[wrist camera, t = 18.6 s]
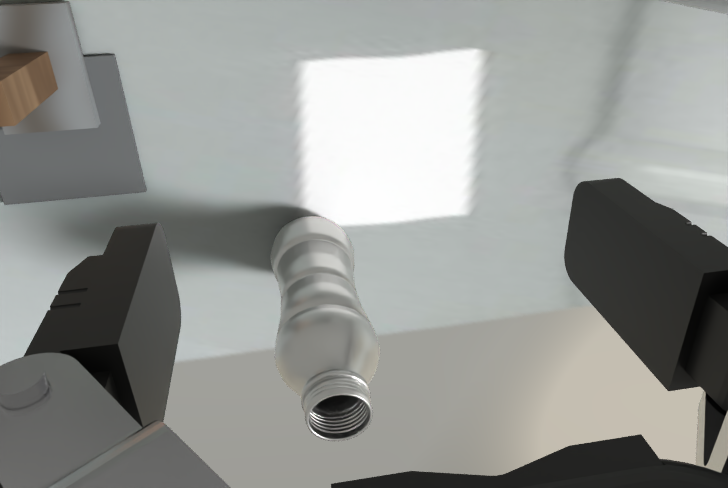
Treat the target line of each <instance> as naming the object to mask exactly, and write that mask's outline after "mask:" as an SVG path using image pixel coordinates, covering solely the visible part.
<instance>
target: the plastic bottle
mask: <svg viewBox="0 0 728 488" xmlns="http://www.w3.org/2000/svg"><path fill="white" fill-rule="evenodd" d="M271 264H272V268H273V271H274V274H275V277H276V279H277V281H278V284H279V289H280V294H281V317H280V323H279V328H278V333H277V339H276V345H275V362H276V366H277V368H278V370H279V373H280V375H281V377H282V379H283V381H284V382H285V383H286V384H287V386H288V387H289V388H290V389H292V390H293V391H294V392H296V393H297V394H298V395H299V396H301V402H302V408H303V410H304V412H305V420H306V424H307V426H308V428H309V430H310V431H311V432H312V433H313V434H314V435H315V436H317V437H319V438H321V439H324V440H328V441H343V440H348V439H351V438H354V437H356V436H358V435H359V434H361V433H362V432H364V431H365V430H366V429H367V428H368V426H369V425H370V423H371V421H372V417H373V410H372V405H371V401H370V398H371V397H370V391H369V387H368V384H369V382H370V381H371V379H372V378H373V376H374V374H375V372H376V370H377V366H378V360H379V354H380V348H379V347H380V346H379V342H378V338H377V336H376V333H375V330H374V328H373V327H372V325H371V323H370V321H369V319H368V317H367V315H366V313H365V312H364V310H363V308H362V306H361V303H360V300H359V298H358V295H357V292H356V289H355V283H354V274H353V272H354V249H353V246H352V243H351V241H350V240H349V238H348V236H347V235H346V233H345V232H344V231H343V230H342V228H341V227H340V226H339V225H337V224H336V223H334V222H333V221H331V220H329V219H326V218H323V217H317V216H307V217H301V218H298V219H295V220H293V221H291V222H289V223H288V224H286V225H285V226H284V227H283V228H282V229H281V230H280V231H279V232H278V234H277V236H276V238H275V241H274V244H273V247H272V250H271Z"/></svg>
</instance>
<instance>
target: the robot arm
mask: <svg viewBox="0 0 728 488" xmlns="http://www.w3.org/2000/svg"><path fill="white" fill-rule="evenodd" d="M660 1H665V2H670V3H675V4H680V5H684V6H688V7H693V8H698V9H703V10H708V11H714V12H719V13H724V14H728V0H660ZM564 259H565V266H566V270H567V273H568V276H569V278H570V279H571V281H572V282H573V283H574V284H575V286H576V287H577V288H578V289H579V290H580V291H581V292H582V294H583V295H584V296H585V297H586V298H587V299H588V300H589V301H590V303H591V304H592V305H593V306H594V307H595V308H596V309H597V311H598V312H599V313H600V314H601V315H602V316H603V317H604V318H605V320H606V321H607V322H608V323H609V324H610V325H611V327H612V328H613V329H614V330H615V331H616V332H617V333H618V334H619V336H620V337H621V338H622V339H623V340H624V341H625V342H626V343H627V344H628V346H629V347H630V348H631V349H632V350H633V351H634V353H635V354H636V355H637V356H638V357H639V358H640V359H641V361H642V362H643V363H644V364H645V365H646V366H647V367H648V369H649V370H650V371H651V372H652V373H653V374H654V375H655V377H656V378H657V379H658V380H659V381H660V382H661V383H662V384H663V386H664V387H665V388H666V389H667V390H668V391H673V390H680V389H686V388H693V387H699V386H700V387H701V388H703V390H704V392H703V395H702V398H701V401H700V404H699V408H698V427H697V430H698V431H697V450H696V465H693V464H689V463H685V462H679V461H672V460H665V459H659V458H658V457H657V455H656V454H655V452H654V451H653V450H652V449H651V447H650V446H649V445H648V443H647V442H646V441H645V439H644V438H643V436H642V435H635V436H628V437H622V438H616V439H610V440H603V441H597V442H591V443H584V444H579V445H572V446H568V447H565V448H563V449H561V450H559V451H556V452H554V453H552V454H549V455H547V456H545V457H543V458H541V459H538V460H536V461H534V462H531V463H529V464H527V465H524V466H523V467H520V468H518V469H515V470H513V471H511V472H509V473H506V474H503V475H498V476H483V475H482V476H481V475H467V474H450V473H433V472H417V471H409V472H403V473H396V474H390V475H384V476H378V477H372V478H366V479H359V480H353V481H346V482H341V483H334V484H331V488H728V247H727V246H725V245H724V244H722V243H721V242H720V241H718V240H717V239H715V238H714V237H712V236H707V232H705V231H704V230H702V229H701V228H699V227H698V226H696V225H692V224H691V221H689V220H688V219H686V218H685V217H683V216H682V215H680V214H679V213H678V212H676V211H675V210H673V209H671V208H669V207H666V206H663V205H661V204H658V203H656V202H654V201H653V200H651V199H650V198H648V197H647V196H646V195H644V194H643V193H641V192H640V191H638V190H637V189H636V188H634V187H633V186H631V185H630V184H628V183H627V182H626V181H624V180H623V179H620V178H614V179H604V180H593V181H583V182H581V183H579V184H578V185H577V187H576V189H575V191H574V195H573V201H572V207H571V214H570V220H569V226H568V233H567V239H566V245H565V253H564ZM180 327H181V308H180V300H179V294H178V290H177V285H176V281H175V276H174V272H173V268H172V263H171V259H170V254H169V250H168V245H167V241H166V237H165V233H164V230H163V227H162V225H161V224H160V223H151V224H141V225H131V226H121V227H116V228H115V230H114V232H113V234H112V236H111V239H110V241H109V243H108V245H107V248H106V250H105V252H104V254H103V255H98V256H89V257H87V258H86V259H85V260H83V261H82V262H81V263H80V264H78V265H77V266H76V267H75V268H74V269H72V270H71V271H70V272H69V273H68V274H67V276H66V277H65V279H64V281H63V283H62V285H61V287H60V289H59V291H58V295H56V296H55V298H54V300H53V302H52V304H51V306H50V310H48V311H47V313H46V315H45V317H44V319H43V321H42V323H41V325H40V326H39V328H38V330H37V332H36V334H35V336H34V338H33V340H32V341H31V343H30V345H29V347H28V349H27V351H26V353H25V355H24V357H22V358H18V359H15V360H13V361H10V362H8V363H6V364H3V365H1V366H0V488H230V487H229V486H228V485H227V484H226V483H225V482H224V481H223V480H222V479H221V478H220V477H219V476H218V475H217V474H216V473H215V472H214V471H213V470H212V469H211V468H210V467H209V466H208V465H207V464H206V463H205V462H204V461H203V460H202V459H201V458H200V457H199V456H198V455H197V454H196V453H195V452H194V451H193V450H192V449H191V448H190V447H188V445H186V444H185V443H184V442H183V441H182V440H181V439H180V438H179V437H178V436H177V435H176V434H175V433H174V432H173V431H172V430H171V429H170V428H169V427H168V426H167V425H165V424H164V423H163V420H164V415H165V409H166V404H167V398H168V393H169V387H170V382H171V376H172V371H173V366H174V360H175V355H176V349H177V344H178V338H179V333H180Z"/></svg>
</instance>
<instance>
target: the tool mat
mask: <svg viewBox="0 0 728 488" xmlns="http://www.w3.org/2000/svg"><path fill="white" fill-rule="evenodd" d="M83 57H84V61H85V65H86V68H87V72H88V76H89V80H90V84H91V88H92V92H93V96H94V99H95V103H96V107H97V111H98V115H99V119H100V123H101V124H100V125H99V126H98V128H88V129H75V130H62V131H49V132H36V133H23V134H10V135H5V134H4V131H3V128H2V127H0V194H1V197H2V199H3V202H4V205H9V204H20V203H31V202H42V201H52V200H63V199H74V198H85V197H96V196H106V195H117V194H128V193H139V192H146V186H145V182H144V177H143V173H142V169H141V165H140V160H139V156H138V152H137V147H136V143H135V139H134V135H133V130H132V126H131V122H130V118H129V113H128V109H127V105H126V100H125V96H124V92H123V88H122V83H121V79H120V75H119V71H118V66H117V62H116V58H115V54H110V55H94V56H83Z"/></svg>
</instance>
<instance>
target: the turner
mask: <svg viewBox="0 0 728 488" xmlns="http://www.w3.org/2000/svg"><path fill="white" fill-rule="evenodd" d="M100 124H101V123H100V119H99V115H98V111H97V107H96V103H95V99H94V96H93V92H92V88H91V84H90V80H89V76H88V72H87V68H86V65H85V61H84V57H83V53H82V49H81V45H80V41H79V37H78V34H77V30H76V26H75V22H74V18H73V14H72V10H71V6H70V3H69V1H65V2H45V3H25V4H4V5H0V127H2V128H3V131H4V134H5V135H10V134H23V133H36V132H49V131H62V130H75V129H88V128H98V126H99V125H100Z"/></svg>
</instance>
